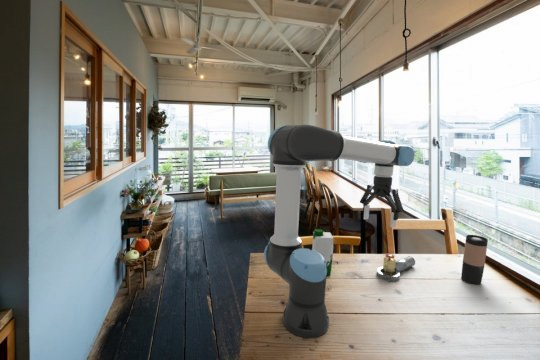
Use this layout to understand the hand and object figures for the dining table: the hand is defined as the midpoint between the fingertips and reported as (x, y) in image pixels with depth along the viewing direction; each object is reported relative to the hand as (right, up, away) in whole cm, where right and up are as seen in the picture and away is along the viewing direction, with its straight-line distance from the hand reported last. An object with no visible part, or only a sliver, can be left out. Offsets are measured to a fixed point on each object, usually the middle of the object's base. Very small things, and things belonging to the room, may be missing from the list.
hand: (378, 222), depth 123 cm
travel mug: (+40, -26, -2) cm, 47 cm away
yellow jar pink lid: (+5, -24, +1) cm, 25 cm away
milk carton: (-25, -23, +3) cm, 35 cm away
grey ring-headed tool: (+10, -24, +5) cm, 26 cm away
